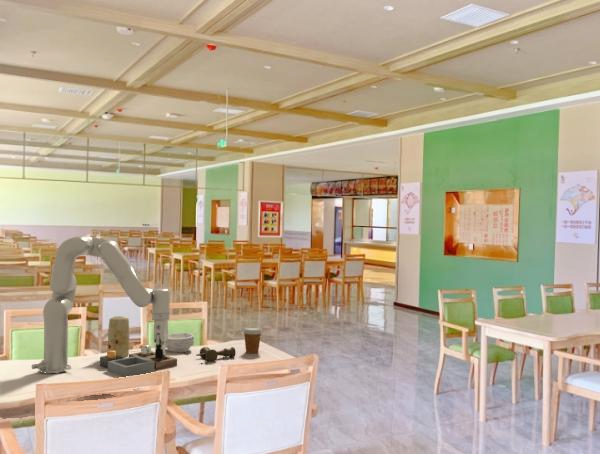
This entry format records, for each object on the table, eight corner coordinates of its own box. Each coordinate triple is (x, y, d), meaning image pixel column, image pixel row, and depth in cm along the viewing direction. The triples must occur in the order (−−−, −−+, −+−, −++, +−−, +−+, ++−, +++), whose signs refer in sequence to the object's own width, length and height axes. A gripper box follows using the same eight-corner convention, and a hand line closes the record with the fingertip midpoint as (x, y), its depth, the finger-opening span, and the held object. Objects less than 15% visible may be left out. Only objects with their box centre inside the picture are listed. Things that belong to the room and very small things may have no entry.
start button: (109, 362, 241) (109, 352, 241) (105, 361, 243) (105, 351, 243) (117, 361, 244) (117, 351, 244) (113, 359, 246) (113, 349, 246)
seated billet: (144, 362, 251) (144, 347, 251) (139, 360, 254) (139, 345, 253) (152, 360, 254) (153, 345, 254) (147, 359, 257) (147, 344, 257)
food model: (127, 356, 266) (128, 315, 266) (130, 359, 260) (131, 317, 260) (106, 358, 261) (107, 316, 261) (109, 361, 255) (109, 318, 255)
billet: (158, 360, 243) (159, 344, 243) (153, 358, 246) (153, 343, 246) (167, 358, 247) (167, 343, 247) (161, 357, 250) (161, 341, 250)
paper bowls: (157, 350, 279) (157, 335, 279) (183, 346, 289) (183, 331, 289) (173, 356, 268) (173, 339, 268) (199, 351, 279) (199, 336, 279)
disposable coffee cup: (240, 350, 282) (240, 327, 282) (257, 349, 287) (258, 326, 286) (246, 354, 274) (246, 330, 274) (264, 353, 278) (264, 329, 278)
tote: (125, 379, 226) (125, 367, 226) (107, 372, 236) (107, 361, 236) (154, 373, 237) (154, 361, 237) (136, 367, 246) (136, 355, 246)
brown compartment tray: (177, 367, 247) (177, 358, 247) (156, 372, 239) (156, 362, 239) (149, 358, 261) (149, 350, 261) (128, 362, 253) (129, 354, 253)
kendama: (238, 360, 266) (199, 363, 255) (229, 356, 274) (191, 359, 263) (238, 347, 266) (199, 350, 255) (230, 344, 274) (192, 347, 263)
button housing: (107, 371, 238) (108, 359, 238) (99, 368, 243) (100, 356, 243) (122, 368, 244) (122, 357, 244) (114, 365, 248) (114, 354, 248)
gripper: (165, 319, 238) (165, 361, 238) (172, 313, 255) (171, 352, 255) (148, 319, 238) (147, 361, 238) (156, 313, 255) (155, 352, 255)
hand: (160, 356), depth 246 cm, fingers closed on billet, 4 cm apart
